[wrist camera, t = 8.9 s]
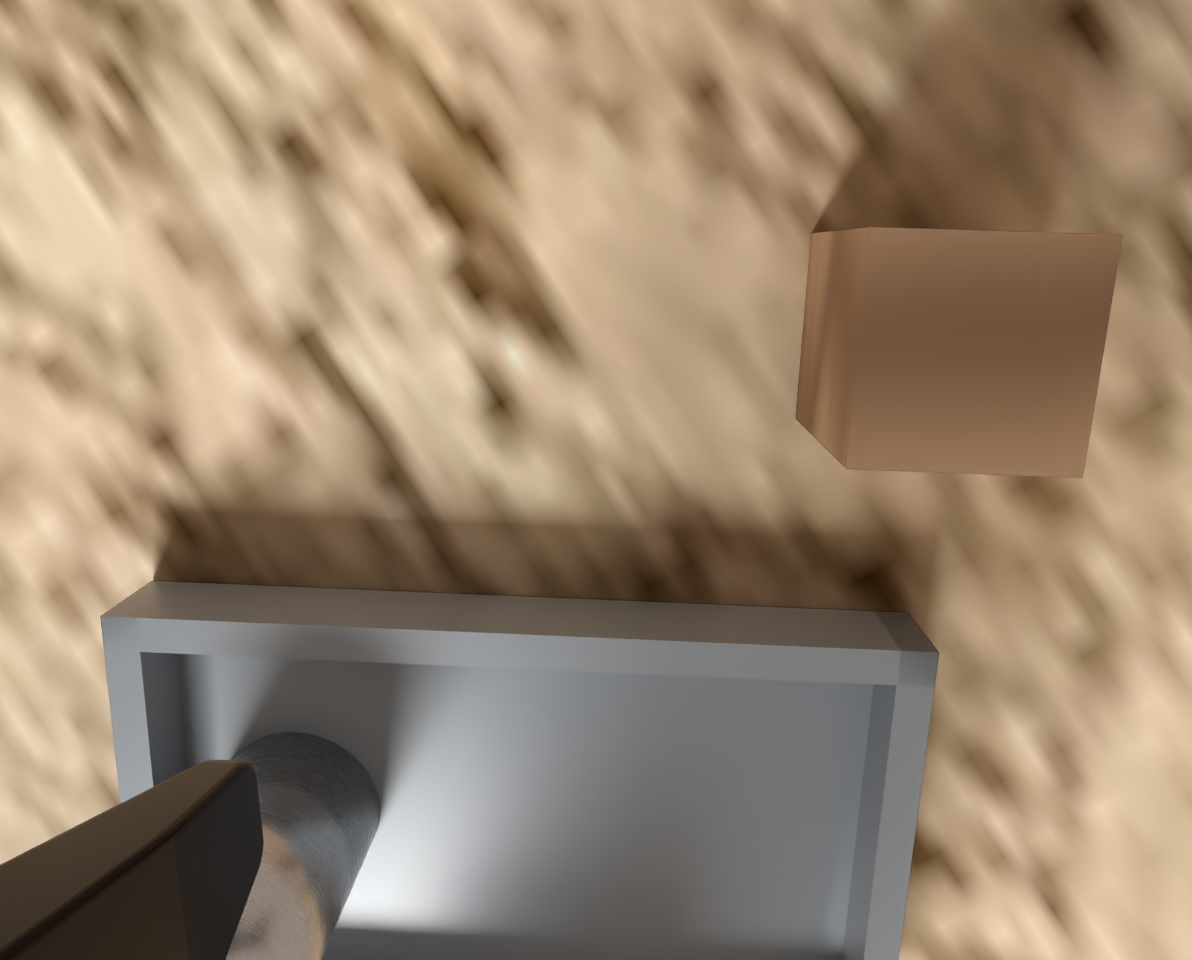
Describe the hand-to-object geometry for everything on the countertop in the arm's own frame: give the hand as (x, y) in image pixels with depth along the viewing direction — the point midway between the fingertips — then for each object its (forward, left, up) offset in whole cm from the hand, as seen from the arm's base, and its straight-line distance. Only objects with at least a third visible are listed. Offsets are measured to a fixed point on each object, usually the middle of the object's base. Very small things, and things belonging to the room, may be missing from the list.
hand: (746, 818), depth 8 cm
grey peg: (-9, +9, -12) cm, 18 cm away
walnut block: (+3, -5, -13) cm, 14 cm away
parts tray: (-9, +3, -13) cm, 16 cm away
